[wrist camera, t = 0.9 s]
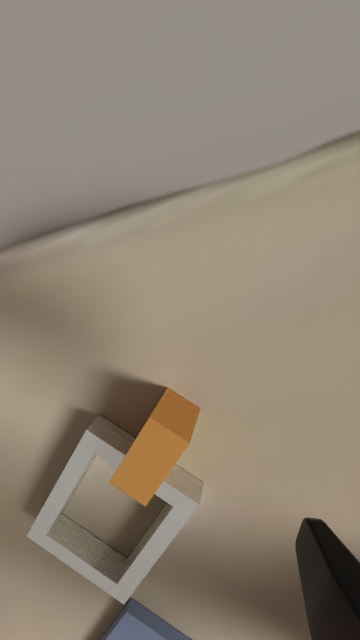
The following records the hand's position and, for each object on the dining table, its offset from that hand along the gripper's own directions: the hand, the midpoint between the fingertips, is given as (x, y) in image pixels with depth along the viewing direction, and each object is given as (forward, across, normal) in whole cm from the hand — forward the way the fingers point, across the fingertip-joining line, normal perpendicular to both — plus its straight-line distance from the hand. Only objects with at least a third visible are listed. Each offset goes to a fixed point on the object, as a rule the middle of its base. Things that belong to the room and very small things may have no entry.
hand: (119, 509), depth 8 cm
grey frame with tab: (+12, +1, +12) cm, 17 cm away
